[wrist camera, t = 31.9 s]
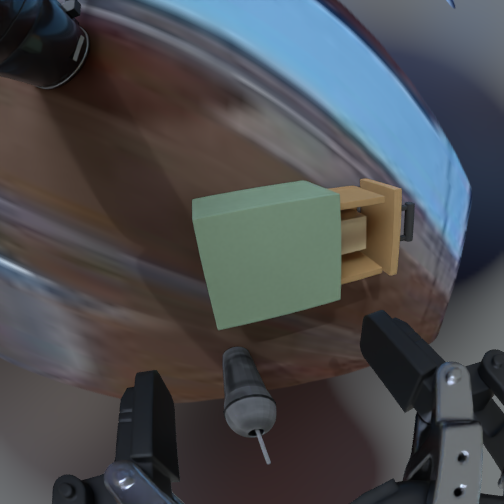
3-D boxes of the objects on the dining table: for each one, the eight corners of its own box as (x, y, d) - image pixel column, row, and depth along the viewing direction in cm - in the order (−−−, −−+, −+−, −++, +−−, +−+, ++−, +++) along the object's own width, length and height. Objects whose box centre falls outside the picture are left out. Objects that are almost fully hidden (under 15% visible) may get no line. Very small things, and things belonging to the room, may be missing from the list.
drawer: (392, 175, 37) (428, 185, 30) (390, 246, 42) (421, 265, 34) (276, 190, 35) (298, 203, 27) (284, 271, 39) (304, 300, 32)
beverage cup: (243, 332, 43) (278, 441, 25) (265, 358, 46) (302, 456, 28) (205, 353, 43) (221, 463, 25) (229, 377, 46) (252, 476, 28)
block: (319, 212, 36) (335, 221, 32) (348, 207, 36) (366, 215, 32) (321, 243, 37) (336, 256, 33) (349, 237, 38) (366, 248, 34)
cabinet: (304, 180, 36) (339, 193, 27) (310, 266, 41) (340, 299, 32) (191, 199, 34) (192, 219, 25) (210, 288, 39) (218, 330, 30)
